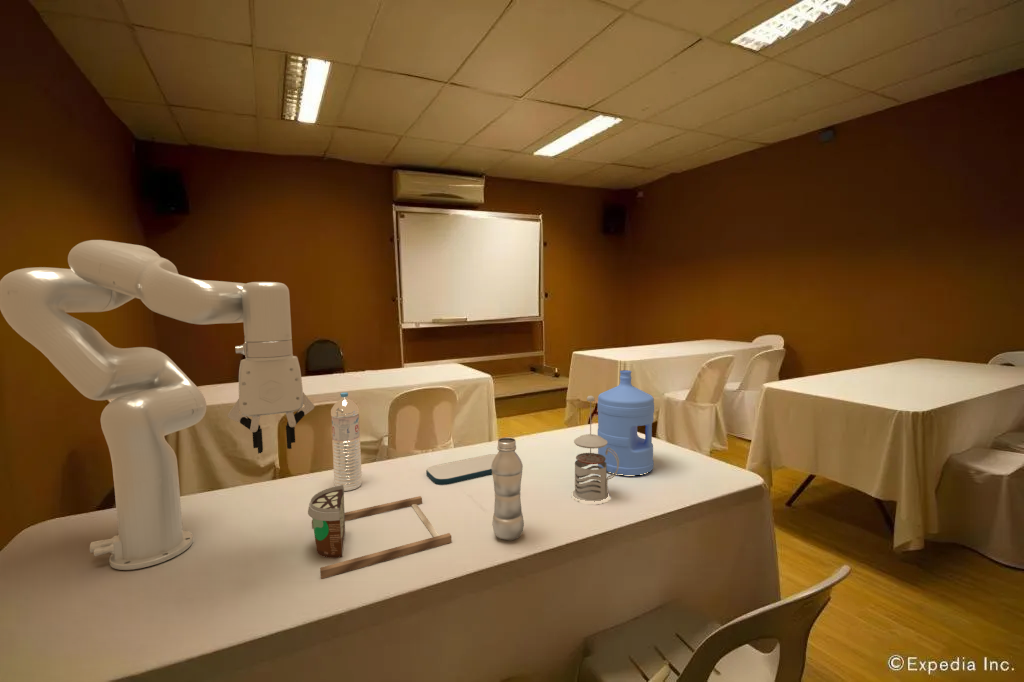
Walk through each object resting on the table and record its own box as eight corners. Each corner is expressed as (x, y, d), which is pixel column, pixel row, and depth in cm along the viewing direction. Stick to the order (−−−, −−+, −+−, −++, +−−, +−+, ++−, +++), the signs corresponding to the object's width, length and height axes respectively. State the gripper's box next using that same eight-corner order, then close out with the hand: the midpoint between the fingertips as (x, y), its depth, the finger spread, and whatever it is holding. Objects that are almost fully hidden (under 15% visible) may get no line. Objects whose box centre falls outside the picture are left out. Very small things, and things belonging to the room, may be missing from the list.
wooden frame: (321, 578, 77) (320, 571, 77) (312, 526, 95) (311, 519, 95) (451, 542, 88) (451, 535, 88) (420, 501, 107) (420, 496, 107)
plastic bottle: (496, 547, 86) (494, 446, 85) (489, 530, 93) (487, 436, 91) (528, 541, 88) (527, 443, 86) (518, 525, 94) (517, 434, 93)
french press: (575, 485, 115) (574, 390, 113) (620, 491, 111) (621, 393, 109) (566, 501, 106) (566, 398, 104) (615, 508, 102) (616, 401, 100)
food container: (314, 534, 92) (311, 487, 91) (345, 529, 94) (343, 483, 93) (305, 567, 80) (302, 514, 79) (341, 561, 82) (339, 509, 81)
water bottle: (353, 493, 112) (348, 396, 110) (328, 491, 114) (324, 395, 112) (367, 482, 119) (363, 390, 117) (344, 480, 120) (339, 390, 118)
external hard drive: (496, 458, 137) (496, 452, 137) (515, 470, 127) (515, 463, 127) (423, 474, 125) (423, 467, 125) (437, 488, 115) (437, 481, 115)
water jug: (592, 473, 123) (592, 373, 121) (603, 455, 137) (603, 366, 135) (650, 481, 117) (651, 376, 115) (655, 461, 131) (656, 368, 129)
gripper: (211, 355, 73) (218, 463, 74) (321, 349, 81) (326, 447, 82) (216, 351, 79) (223, 451, 81) (317, 346, 87) (322, 437, 89)
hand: (275, 448), depth 82 cm, fingers open, 4 cm apart
